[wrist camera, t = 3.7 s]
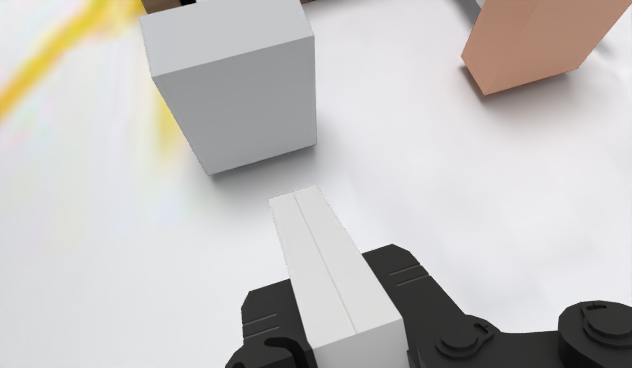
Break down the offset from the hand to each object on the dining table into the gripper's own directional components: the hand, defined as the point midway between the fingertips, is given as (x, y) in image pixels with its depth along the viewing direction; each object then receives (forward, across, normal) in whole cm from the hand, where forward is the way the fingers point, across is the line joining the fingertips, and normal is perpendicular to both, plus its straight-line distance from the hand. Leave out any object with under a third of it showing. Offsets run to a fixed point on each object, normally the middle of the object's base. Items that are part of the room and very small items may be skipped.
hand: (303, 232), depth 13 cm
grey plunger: (+15, 0, +4) cm, 15 cm away
